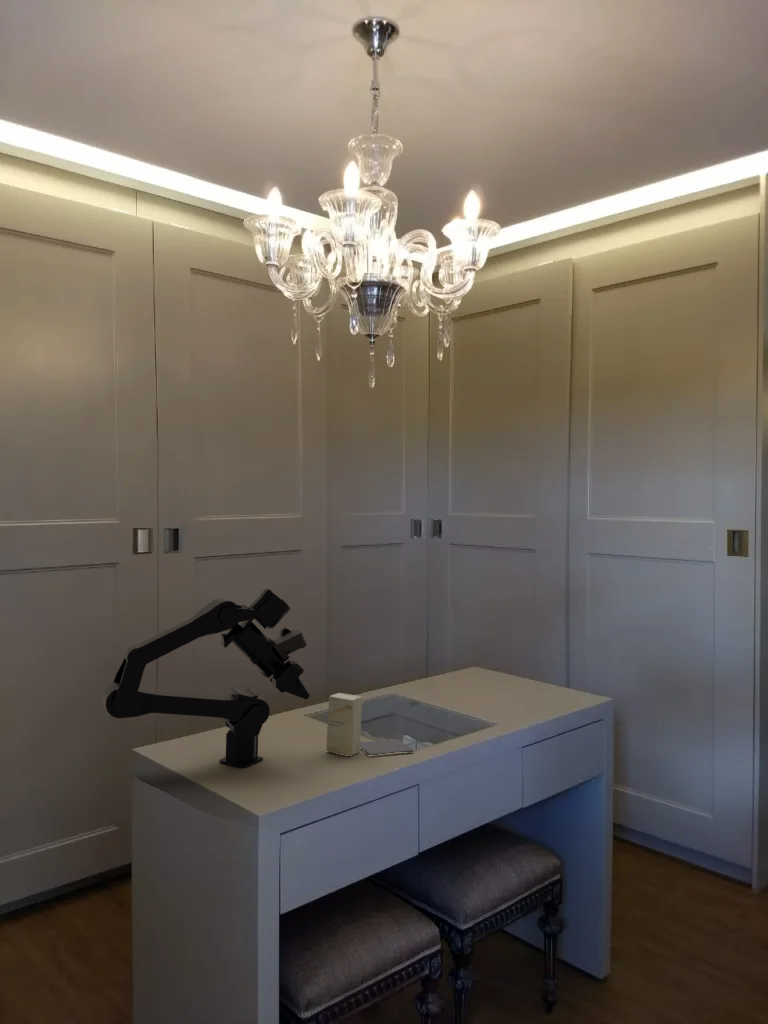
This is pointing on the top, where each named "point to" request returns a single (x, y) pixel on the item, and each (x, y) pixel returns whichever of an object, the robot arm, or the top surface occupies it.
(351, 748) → the skincare box
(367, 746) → the rubber mat
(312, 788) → the top surface
